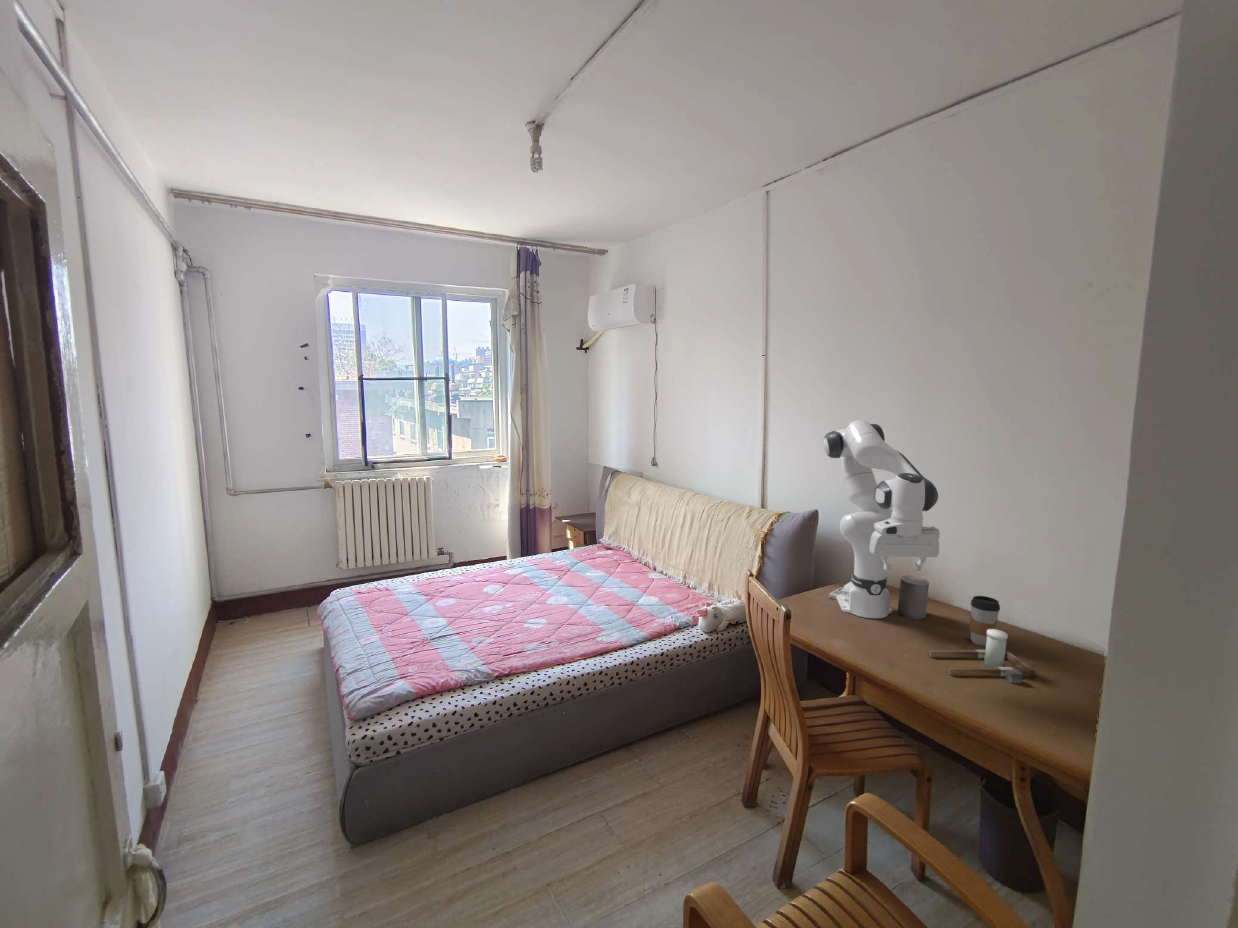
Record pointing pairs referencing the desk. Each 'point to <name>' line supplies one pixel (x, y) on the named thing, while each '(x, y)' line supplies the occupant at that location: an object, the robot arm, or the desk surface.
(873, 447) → the robot arm
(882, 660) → the desk surface
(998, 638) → the mint green tumbler
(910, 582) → the pillar candle
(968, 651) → the beam slot
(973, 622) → the coffee cup
